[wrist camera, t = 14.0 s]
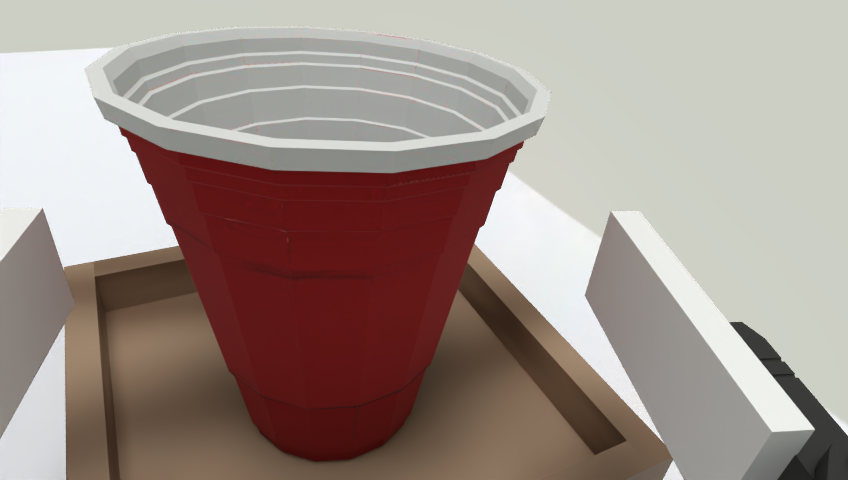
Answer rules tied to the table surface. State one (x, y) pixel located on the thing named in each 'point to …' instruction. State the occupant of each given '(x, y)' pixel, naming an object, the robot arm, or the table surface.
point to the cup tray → (361, 476)
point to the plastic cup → (321, 204)
